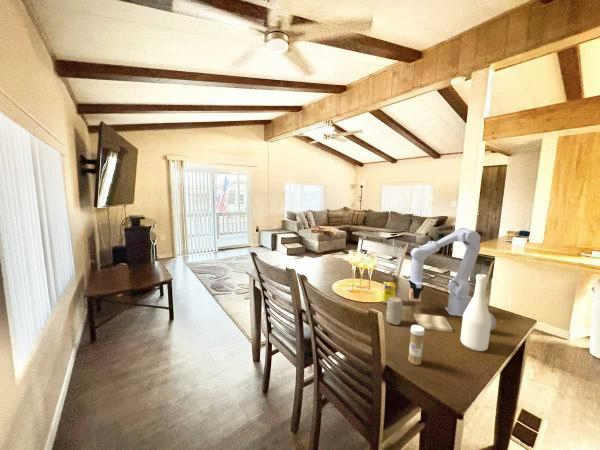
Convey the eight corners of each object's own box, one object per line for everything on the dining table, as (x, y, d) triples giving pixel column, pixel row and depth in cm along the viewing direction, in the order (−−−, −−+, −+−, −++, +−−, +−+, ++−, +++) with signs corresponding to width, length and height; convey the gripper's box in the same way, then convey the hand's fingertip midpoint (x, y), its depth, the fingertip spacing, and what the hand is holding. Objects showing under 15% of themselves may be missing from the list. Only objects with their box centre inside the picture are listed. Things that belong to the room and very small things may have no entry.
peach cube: (418, 297, 138) (419, 288, 138) (420, 301, 133) (421, 292, 133) (408, 296, 139) (409, 288, 139) (410, 300, 135) (411, 291, 134)
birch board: (444, 319, 129) (444, 316, 129) (452, 331, 117) (452, 329, 117) (413, 315, 132) (414, 313, 132) (419, 327, 120) (419, 325, 120)
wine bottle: (488, 355, 101) (498, 280, 97) (460, 347, 106) (467, 276, 102) (486, 343, 109) (495, 274, 105) (460, 336, 114) (467, 269, 110)
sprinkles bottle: (406, 361, 96) (409, 327, 94) (410, 355, 100) (413, 323, 98) (419, 367, 93) (422, 332, 91) (423, 361, 97) (426, 327, 95)
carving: (404, 324, 123) (406, 300, 121) (392, 327, 120) (393, 302, 118) (395, 318, 129) (396, 295, 127) (382, 320, 126) (384, 297, 124)
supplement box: (394, 305, 143) (396, 286, 142) (383, 304, 144) (384, 285, 143) (393, 300, 149) (394, 282, 147) (382, 299, 150) (383, 281, 149)
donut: (493, 332, 117) (496, 311, 116) (495, 335, 114) (498, 314, 113) (467, 326, 122) (470, 306, 121) (468, 329, 119) (470, 309, 118)
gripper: (406, 266, 142) (404, 290, 144) (411, 275, 128) (409, 301, 130) (420, 267, 141) (418, 291, 143) (426, 276, 127) (424, 302, 129)
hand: (414, 296), depth 136 cm, fingers closed on peach cube, 5 cm apart
